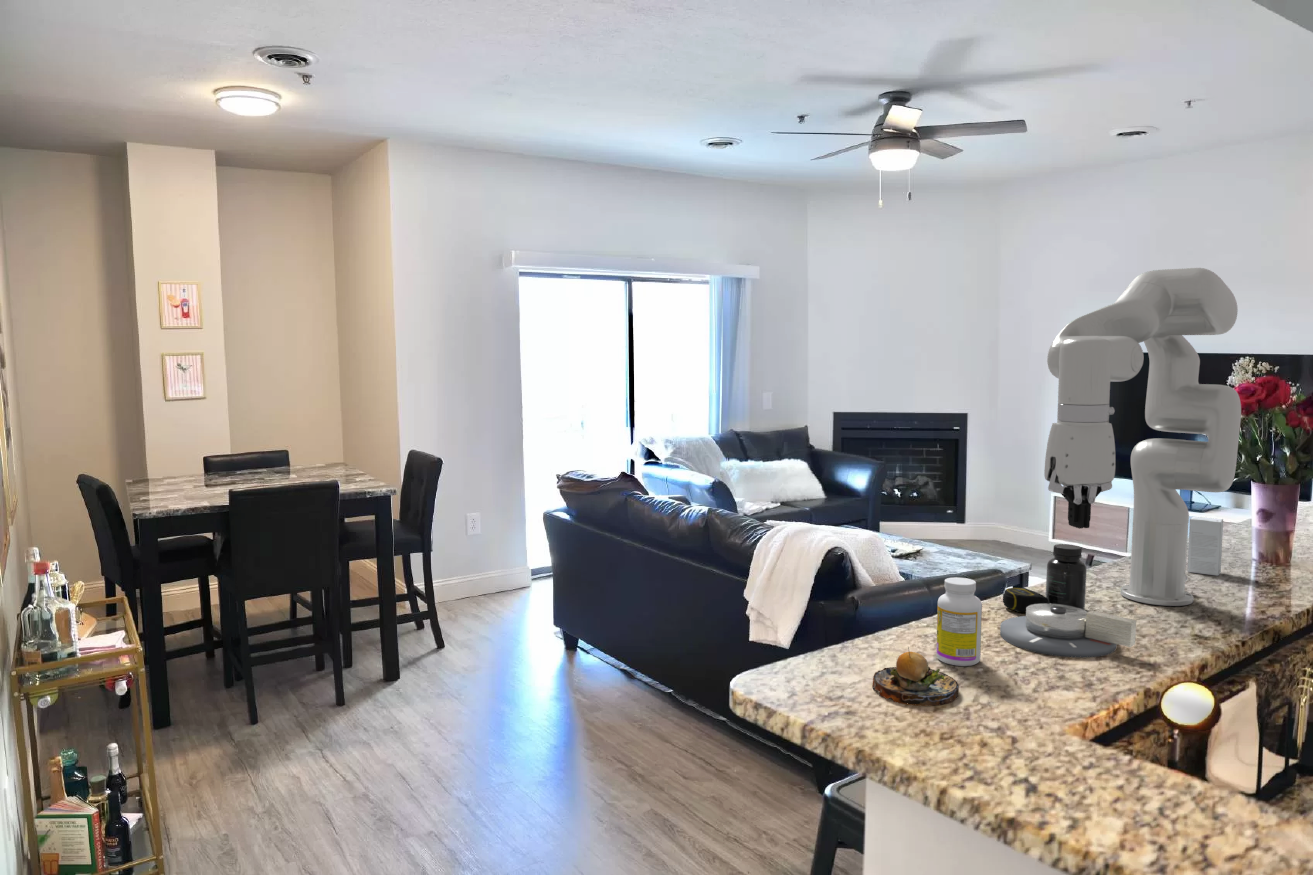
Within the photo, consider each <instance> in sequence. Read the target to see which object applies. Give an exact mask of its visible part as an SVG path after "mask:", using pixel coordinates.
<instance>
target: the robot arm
mask: <svg viewBox="0 0 1313 875" xmlns="http://www.w3.org/2000/svg"><path fill="white" fill-rule="evenodd" d="M1238 311H1239V310H1238V304H1237V299H1236V297H1235V295H1234V293H1233V292H1232V290H1231V289H1230V287H1229V286H1228V285H1227V284H1226V283H1225V282H1224V280H1223V279H1222V278H1221V277H1220V276H1219V275H1218V274H1216V273H1215V272H1214V271H1212V270H1211V269H1208V268H1203V267H1190V268H1187V267H1186V268H1170V269H1169V268H1168V269H1156V270H1155V269H1154V270H1149V271H1145V272H1142V273H1140V274H1139V275H1137V276H1136V277H1134V278H1133V280H1132V281H1131V282H1130V283H1129V285H1128V286H1127V287H1125V289H1124V291H1123V292H1122V293H1121V294H1120V296H1119V297H1117V299H1116V300H1115V301H1114V303H1112V304H1108V305H1107V306H1104V307H1101V308H1099V309H1096V310H1094V311H1091V312H1089V313H1087V314H1086V313H1085V314H1083V315H1081V316H1079V317H1077V318H1075V319H1073V320H1071V322H1069V323H1067V324H1066V325H1065V326H1064V327H1063V328H1062V329H1061V330H1060V331H1059V332H1058V333H1057V335H1056V336H1055V338H1054V339H1053V341H1052V342H1051V345H1050V347H1049V348H1048V351H1047V352H1048V353H1047V357H1046V358H1047V360H1046V362H1047V367H1048V369H1049V372H1050V373H1051V375H1052V376H1054V377H1055V378H1057V379H1058V385H1057V386H1058V388H1057V389H1058V391H1057V393H1058V394H1057V415H1056V416H1057V417H1056V418H1057V420H1056V422H1052V423H1051V426H1050V427H1051V428H1050V430H1049V435H1048V439H1047V442H1046V444H1047V445H1046V449H1045V450H1046V452H1045V457H1044V459H1045V460H1044V474H1043V475H1044V479H1045V481H1047V482H1049V483H1048V487H1047V490H1048V491H1050V492H1052V493H1057V494H1060V495H1062V497H1063V498H1064V500H1065V502H1068V503H1067V504H1068V505H1067V507H1068V508H1067V512H1068V513H1067V520H1068V525H1069V526H1071V527H1073V528H1076V529H1089V528H1090V524H1091V522H1090V521H1091V515H1092V513H1091V510H1092V505H1093V504H1094V503H1095V502H1096V499H1097V496H1098V495H1100V494H1101V493H1102V492H1103V493H1104V492H1106V491H1108V490H1109V491H1110V490H1112V488H1113V483H1112V482H1113V480H1114V479H1115V476H1116V443H1115V441H1116V440H1115V435H1114V428H1113V424H1112V422H1111V423H1110V416H1112V415H1114V414H1115V411H1116V410H1115V407H1113V406H1110V395H1111V393H1110V392H1111V391H1110V390H1111V382H1112V383H1113V382H1114V383H1115V382H1125V381H1129V380H1131V379H1133V378H1135V377H1136V376H1137V375H1138V374H1139V373H1140V371H1141V369H1142V367H1143V365H1144V356H1145V355H1144V351H1143V348H1142V347H1141V345H1140V343H1144V345H1145V349H1146V351H1147V353H1148V358H1149V366H1148V375H1147V376H1148V378H1147V386H1146V387H1147V388H1146V397H1145V406H1144V408H1145V409H1144V419H1145V422H1146V425H1147V426H1148V427H1149V428H1150V429H1152V430H1155V431H1159V432H1160V431H1161V432H1168V433H1178V434H1181V433H1183V434H1184V433H1185V434H1198V435H1204V436H1207V439H1208V441H1201V440H1186V439H1176V438H1159V437H1158V438H1154V437H1153V438H1147V439H1145V440H1142V441H1139V442H1138V443H1136V445H1134V447H1133V449H1132V451H1131V454H1130V468H1131V477H1132V485H1133V514H1132V530H1131V531H1132V532H1131V533H1132V535H1131V550H1130V551H1131V552H1130V553H1131V554H1130V569H1129V573H1130V574H1129V584H1126V585H1125V584H1124V585H1123V586H1121V588H1120V595H1121V597H1124V598H1126V599H1129V600H1131V601H1135V602H1138V603H1143V604H1148V605H1153V606H1154V605H1156V606H1164V607H1166V606H1167V607H1181V606H1182V607H1183V606H1188V605H1191V604H1192V603H1194V595H1193V594H1192V593H1190V592H1188V591H1186V590H1185V588H1186V586H1185V585H1186V582H1187V581H1188V575H1187V574H1186V571H1187V570H1186V568H1187V556H1188V554H1187V553H1188V552H1187V550H1188V539H1189V524H1190V514H1189V509H1188V505H1187V504H1186V502H1185V501H1184V500H1183V497H1182V496H1181V495H1180V493H1179V492H1178V491H1179V490H1183V491H1195V492H1203V493H1206V492H1207V493H1223V492H1226V491H1228V490H1229V489H1230V487H1231V486H1232V485H1233V482H1234V479H1235V474H1236V470H1237V460H1238V450H1239V438H1240V429H1241V421H1242V404H1241V399H1240V395H1239V393H1238V392H1237V390H1235V388H1233V387H1231V386H1228V385H1225V384H1214V383H1213V384H1209V383H1206V384H1204V383H1203V384H1202V383H1200V382H1199V374H1200V365H1201V359H1200V356H1199V354H1198V352H1197V351H1196V349H1195V348H1194V346H1193V344H1191V343H1190V342H1189V341H1188V340H1187V338H1185V337H1184V336H1218V335H1223V334H1226V333H1227V332H1229V331H1230V330H1231V329H1232V328H1233V327H1234V326H1235V325H1236V321H1237V317H1238ZM1177 490H1178V491H1177Z"/></svg>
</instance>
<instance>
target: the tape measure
mask: <svg viewBox="0 0 1313 875" xmlns="http://www.w3.org/2000/svg"><path fill="white" fill-rule="evenodd" d="M1002 603H1003V606H1005V607H1006V608H1007V609H1009V610H1013V611H1015V612H1017V613H1026V608H1027V607H1028V606H1030V605H1033V604H1048V599H1047V598H1046V595H1044V594H1042V593H1038V592H1036V591H1034V590H1032V589H1028V588H1026V587H1009V588H1006V589H1005V590H1004V592H1003V595H1002Z"/></svg>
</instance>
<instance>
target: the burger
mask: <svg viewBox="0 0 1313 875" xmlns="http://www.w3.org/2000/svg"><path fill="white" fill-rule="evenodd" d="M907 647H908V648H907V650H908V651H906V652H903V653H902V654H900V655H899V656H898V658H897V659H896V663H895V664H896V666H892V667H891V666H890V667H883V668H882V669H881V670H877V671H876V672H874V674H873V676H872V690H875V691H877V692H879V695H880V697H881V696H882V697H883V698H884V699H887V700H889V699H891V700H893V702H894V703H899V704H902V705H908V706H916V707H917V706H918V707H938V706H945V705H949V704H951V703H954V702H955V701H956V700H957V699H958V698H959V691H960V690H959V686H960V685H959V683H958V681H957V680H956V679H954V678H953V677H952V676H950V675H949V674H946V673H944V672H941V671H940V668H937V669H936V670H935V669H932V668H931V667H930V666H929V662H928V660H927V659H926V657H925V656H923V655H922V654H920V653H919V652H915V651H910V649H909V648H910V647H909V646H907ZM882 697H881V698H882ZM907 703H908V704H907Z"/></svg>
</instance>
